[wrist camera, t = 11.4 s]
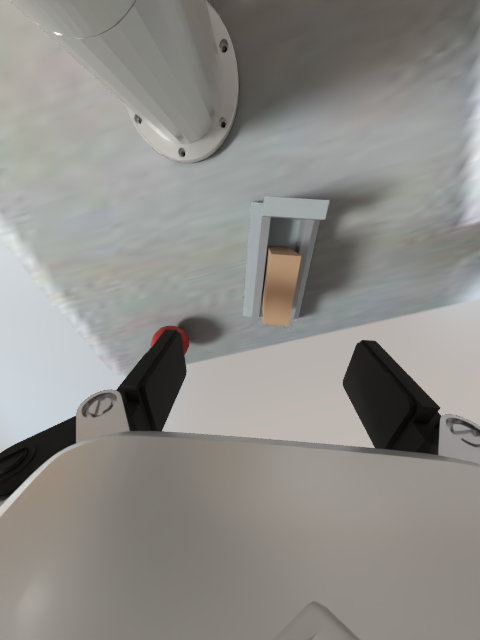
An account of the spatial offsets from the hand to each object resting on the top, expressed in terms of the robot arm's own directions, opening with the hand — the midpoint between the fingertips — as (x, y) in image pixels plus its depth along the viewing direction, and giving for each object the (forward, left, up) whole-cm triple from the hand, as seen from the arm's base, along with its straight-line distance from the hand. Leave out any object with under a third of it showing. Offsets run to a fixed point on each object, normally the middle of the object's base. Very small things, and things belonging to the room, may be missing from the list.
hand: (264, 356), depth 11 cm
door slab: (0, +2, -20) cm, 20 cm away
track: (-1, +2, -21) cm, 21 cm away
